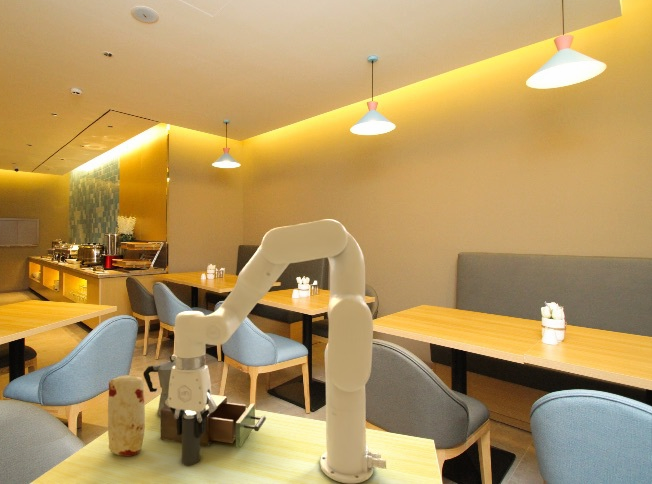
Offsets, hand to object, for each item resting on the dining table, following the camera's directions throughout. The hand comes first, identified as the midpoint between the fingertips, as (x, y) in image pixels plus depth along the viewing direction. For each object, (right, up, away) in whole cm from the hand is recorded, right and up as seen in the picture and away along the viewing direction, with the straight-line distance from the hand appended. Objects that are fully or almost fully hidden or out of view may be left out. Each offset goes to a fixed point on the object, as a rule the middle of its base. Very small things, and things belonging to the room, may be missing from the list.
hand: (190, 433), depth 89 cm
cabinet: (-2, -7, +14) cm, 15 cm away
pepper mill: (0, -7, 0) cm, 7 cm away
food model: (-18, -7, +3) cm, 19 cm away
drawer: (+9, -6, +10) cm, 15 cm away
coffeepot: (-13, -8, +25) cm, 29 cm away
